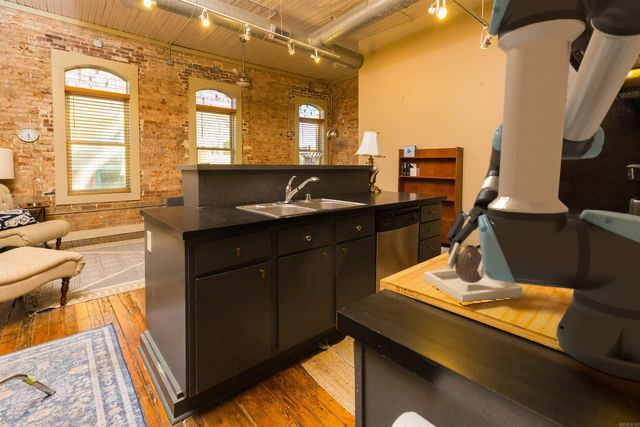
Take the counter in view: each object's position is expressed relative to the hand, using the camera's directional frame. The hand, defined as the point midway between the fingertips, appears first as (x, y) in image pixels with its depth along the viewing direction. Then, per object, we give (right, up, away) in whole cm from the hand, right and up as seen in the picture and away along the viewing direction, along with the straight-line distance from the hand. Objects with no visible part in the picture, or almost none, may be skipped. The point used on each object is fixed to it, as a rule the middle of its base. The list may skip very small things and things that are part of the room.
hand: (464, 270), depth 78 cm
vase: (+2, -3, +3) cm, 5 cm away
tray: (+3, -5, +3) cm, 7 cm away
